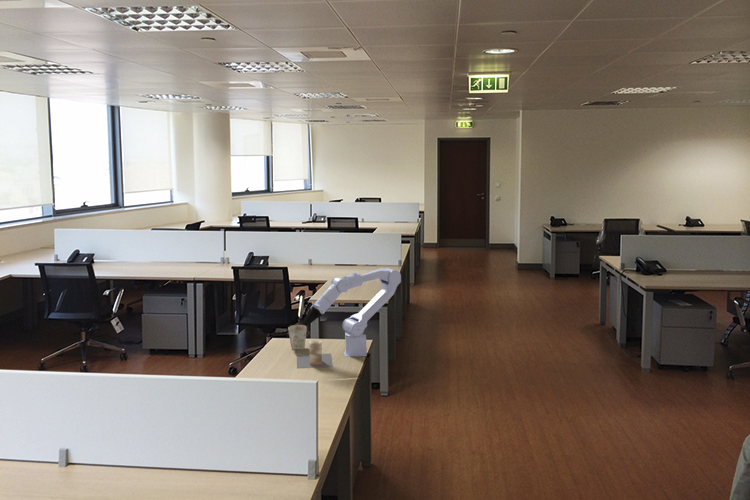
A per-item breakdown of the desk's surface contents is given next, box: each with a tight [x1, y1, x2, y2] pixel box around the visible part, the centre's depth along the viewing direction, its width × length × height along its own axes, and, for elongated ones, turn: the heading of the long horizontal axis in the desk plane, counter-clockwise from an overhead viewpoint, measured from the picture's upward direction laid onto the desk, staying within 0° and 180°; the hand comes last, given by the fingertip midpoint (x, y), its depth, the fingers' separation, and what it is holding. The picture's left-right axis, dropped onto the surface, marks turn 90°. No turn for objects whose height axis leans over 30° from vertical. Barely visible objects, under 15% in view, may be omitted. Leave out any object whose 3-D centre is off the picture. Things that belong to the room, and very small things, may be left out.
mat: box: [296, 353, 334, 369], centre depth 276 cm, size 15×18×1 cm
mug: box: [287, 324, 308, 351], centre depth 292 cm, size 8×13×10 cm, turn 174°
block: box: [308, 340, 323, 365], centre depth 272 cm, size 5×5×9 cm
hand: (305, 323), depth 272 cm, fingers open, 7 cm apart
